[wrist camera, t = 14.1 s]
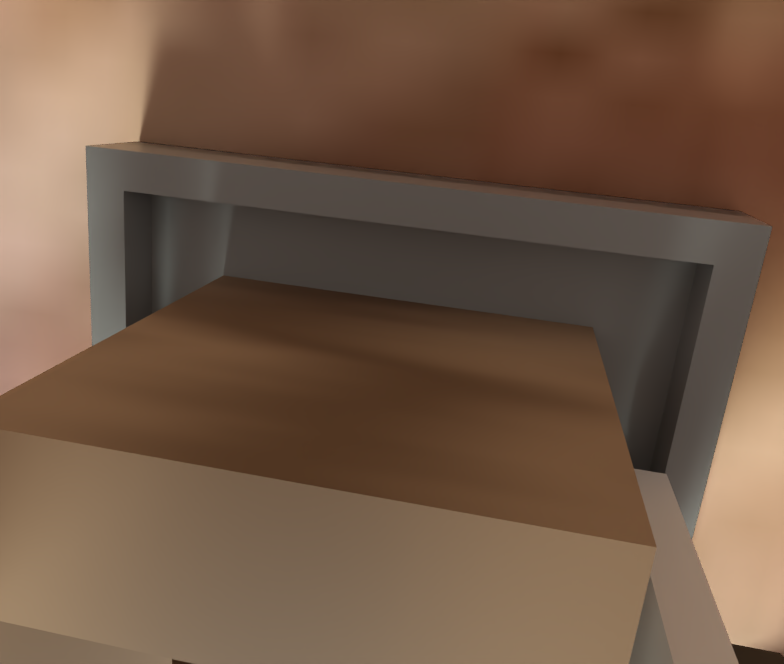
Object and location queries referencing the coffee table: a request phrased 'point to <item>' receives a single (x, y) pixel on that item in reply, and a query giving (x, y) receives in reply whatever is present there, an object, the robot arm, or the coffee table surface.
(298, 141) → the coffee table surface
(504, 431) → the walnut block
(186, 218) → the tray
